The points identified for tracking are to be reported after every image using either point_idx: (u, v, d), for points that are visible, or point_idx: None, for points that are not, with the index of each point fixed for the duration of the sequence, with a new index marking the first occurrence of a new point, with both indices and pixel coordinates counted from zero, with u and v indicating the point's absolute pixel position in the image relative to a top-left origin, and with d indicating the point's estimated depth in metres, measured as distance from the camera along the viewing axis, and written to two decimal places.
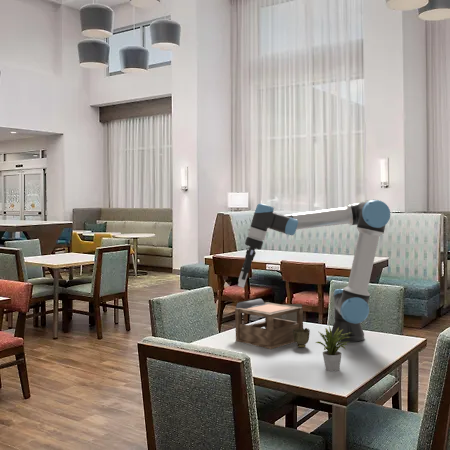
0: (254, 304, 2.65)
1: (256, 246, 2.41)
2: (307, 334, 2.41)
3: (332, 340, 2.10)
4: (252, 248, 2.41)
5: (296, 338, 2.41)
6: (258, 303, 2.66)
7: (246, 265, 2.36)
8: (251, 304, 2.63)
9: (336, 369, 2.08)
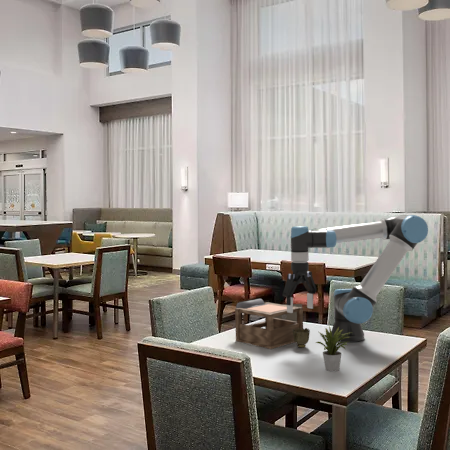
0: (254, 304, 2.65)
1: (297, 269, 2.39)
2: (307, 334, 2.41)
3: (332, 340, 2.10)
4: (294, 272, 2.40)
5: (296, 338, 2.41)
6: (258, 303, 2.66)
7: (284, 290, 2.37)
8: (251, 304, 2.63)
9: (336, 369, 2.08)
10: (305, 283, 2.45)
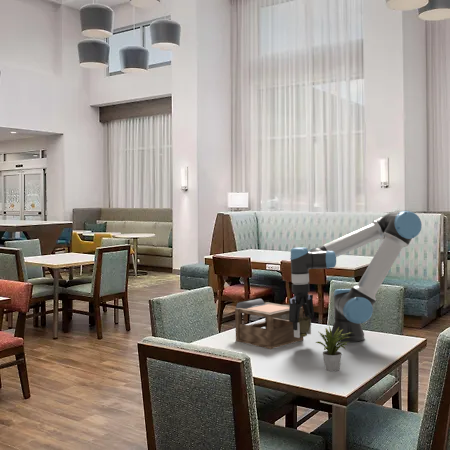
0: (254, 304, 2.65)
1: (297, 291, 2.39)
2: (308, 322, 2.41)
3: (332, 340, 2.10)
4: (295, 294, 2.40)
5: None
6: (258, 303, 2.66)
7: (290, 316, 2.39)
8: (251, 304, 2.63)
9: (336, 369, 2.08)
10: (305, 306, 2.44)
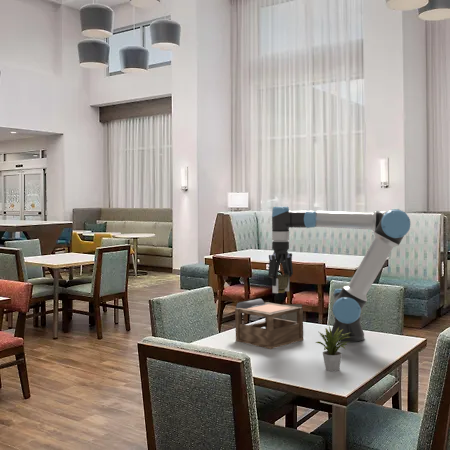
0: (254, 304, 2.65)
1: (277, 248, 2.47)
2: (286, 279, 2.48)
3: (332, 340, 2.10)
4: (275, 251, 2.47)
5: None
6: (258, 303, 2.66)
7: (269, 271, 2.46)
8: (251, 304, 2.63)
9: (336, 369, 2.08)
10: (284, 263, 2.51)
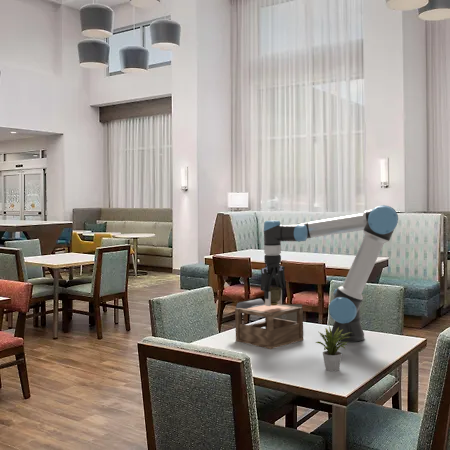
0: (254, 304, 2.65)
1: (269, 261, 2.51)
2: (279, 292, 2.52)
3: (332, 340, 2.10)
4: (267, 264, 2.52)
5: None
6: (258, 303, 2.66)
7: (261, 285, 2.50)
8: (251, 304, 2.63)
9: (336, 369, 2.08)
10: (276, 276, 2.56)
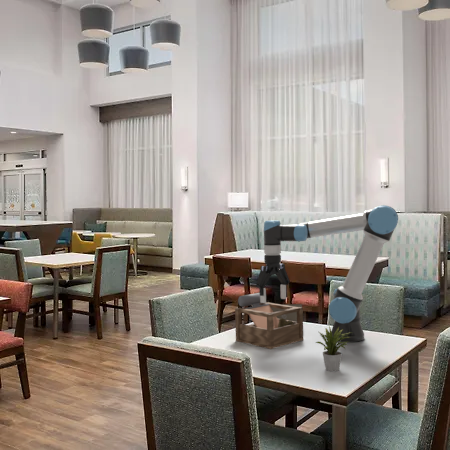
0: (256, 302, 2.64)
1: (269, 261, 2.51)
2: None
3: (332, 340, 2.10)
4: (267, 264, 2.52)
5: None
6: None
7: (258, 281, 2.49)
8: (253, 302, 2.62)
9: (336, 369, 2.08)
10: (278, 275, 2.56)
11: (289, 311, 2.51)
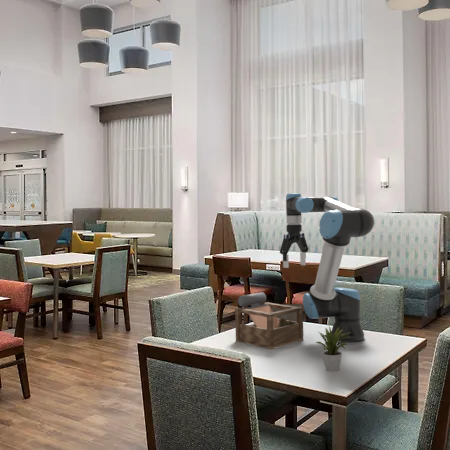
0: (256, 302, 2.64)
1: (291, 230, 2.76)
2: None
3: (332, 340, 2.10)
4: (289, 233, 2.77)
5: None
6: (260, 301, 2.65)
7: (281, 248, 2.74)
8: (253, 302, 2.62)
9: (336, 369, 2.08)
10: (299, 243, 2.82)
11: (289, 311, 2.51)
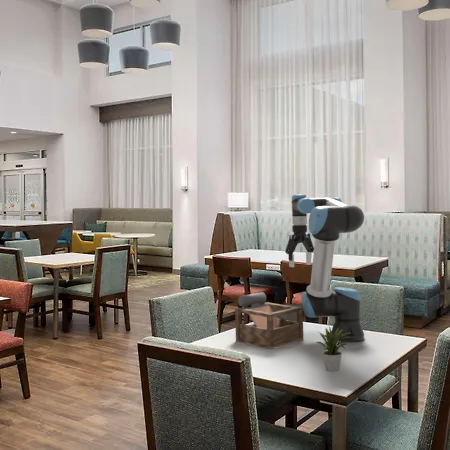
0: (256, 302, 2.64)
1: (297, 230, 2.84)
2: None
3: (332, 340, 2.10)
4: (294, 233, 2.84)
5: None
6: (260, 301, 2.65)
7: (287, 248, 2.81)
8: (253, 302, 2.62)
9: (336, 369, 2.08)
10: (304, 243, 2.89)
11: (289, 311, 2.51)
